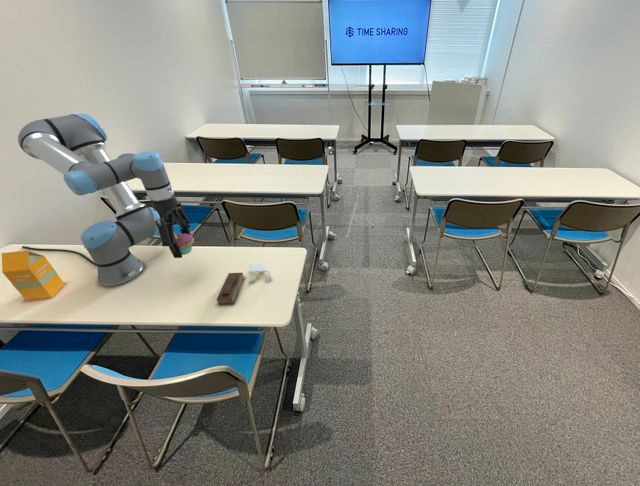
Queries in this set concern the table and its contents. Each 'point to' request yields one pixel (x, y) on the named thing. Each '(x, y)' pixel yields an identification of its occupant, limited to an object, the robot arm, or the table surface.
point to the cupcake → (184, 242)
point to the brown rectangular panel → (230, 288)
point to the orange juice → (31, 274)
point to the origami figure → (257, 270)
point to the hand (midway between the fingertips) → (184, 249)
